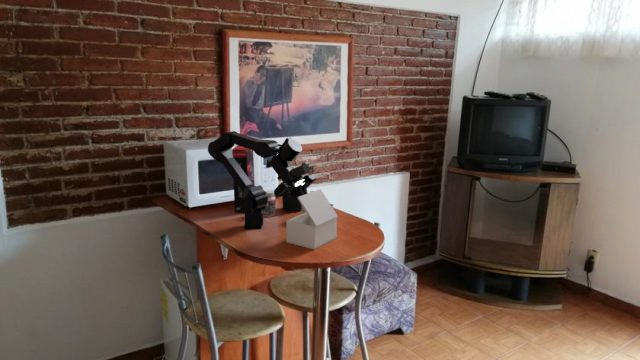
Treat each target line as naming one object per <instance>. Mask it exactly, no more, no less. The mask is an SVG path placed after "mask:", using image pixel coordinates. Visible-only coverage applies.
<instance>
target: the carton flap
mask: <svg viewBox="0 0 640 360" xmlns="http://www.w3.org/2000/svg"><path fill="white" fill-rule="evenodd" d="M312 191H313V192H311V193H310V192H307V193H308V194H305V195H302V196H299V197H298V200H299V201H300V203H301V205H302V206H303V208H304V209H305V211H306V213H307V214H308V216H309V217H310V219H311V220H312V222H313V224H314V225H315V227H316V226H318V225H321V224H323V223H325V222H327V221H329V220H331V219H333V218H336V217H337V218H338V214H337V212H336V211H335V209H334V208H333V206H332V204H331V203H330V201H329V200H328V198H327V197H326V196H325V194H324V193H323V190H322V189H321V188H320V189H316V190H312Z"/></svg>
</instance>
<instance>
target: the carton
mask: <svg viewBox="0 0 640 360" xmlns="http://www.w3.org/2000/svg"><path fill="white" fill-rule="evenodd" d="M285 223H286V225H285V227H286V229H285V230H286V233H285V234H286V236H285V237H286V240H285V241H286V243H287V244H290V245H293V246H294V245H296V246H298V247H299V246H300V247H303V248H307V249H311V250H314V251H315V250H317V249H319V248H321V247H323V246H325V245H326V244H328V243H330V242H332V241H334V240H336V239H337V237H338V236H337V235H338V231H337V230H338V216H337V217H336V218H333V219H331V220H329V221H327V222H325V223H323V224H321V225H318V226H316V227H315V225H314V224H313V222H312V220H311V219H310V217H309V216H308V214H307V213H304V214H302V213H301V214H299V215H296V216H294V217H292V218H290V219H288V220H286V222H285Z"/></svg>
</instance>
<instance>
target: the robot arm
mask: <svg viewBox="0 0 640 360" xmlns="http://www.w3.org/2000/svg"><path fill="white" fill-rule="evenodd" d="M235 145H236V146H237V145H239V146H242V147H245V148H248V149H251V150H253V153H254V154H255V155H257V156H259V157H261V158H263V159H266V158H270V159H268V160H266V165H265V168H266V169H268V168H272V169H273V170H274V172H275V173H276V174H277V180H278V181H281V182H280V183H279V184H278V185H277V186H276V187H275V189H274V190H273V191H274V197H275V198H277V199H278V198H281V197H282V196H283V192H284V191H287V190H289V194H288V196H291V197H293V198H295V199H297V200H298V197H299V196H302V195H305V194H308V193H309V192H308V188H309V187H310V186H311V184H313V183H314V182H315V181H316V180H317V177H316V176H315V174H314V173H311V171H312V165H311V164H310V163H309V162H308V161H305V162H303V163H301V165H299V166H297V167H296V166H295V165H291V164H290V163H291V162H293V161H294V160H295V159H296V157H298V155H299V154H301V152H302V151H303V147H302V145H301V143H300V142H298V141H296V140H294V139H293V138H292V137H286V138H285V139H284V141H283V142H282V143H281V144H280V143H278V142H277V140H274V139H258V138H256V137H252V136H248V135H246V134H242V133H239V132H238V131H234V130H232V131H228V132H225V133H223V135H221V136H220V137H217V138H216V139H214V140H213V141H210V142H209V143H208V146H207V153H208V154H209V156H210V157H212V159H213V160H215V161H217V162H219V163H220V164H222V165H223V167H224V168H225V170H226V171H227V173H228V174H229V176H230V177H231V179H232V180H233V179H234V181H235V182H236V184H237V185H238V186H239V188H240V189H241V191H242V192H243V200H244V203H243V204H242V205H241V207H240V210H241V212H242V214H244V227H243V229H246V230H250V229H251V230H252V229H253V230H255V229H256V230H257V229H259V230H260V229H263V228H262V227H263V226H264V216H263V214H262V210H264V209H265V207H266V204H267V202H268V197H267V195H266V193H267V192H265V191H266V190H264V188H263V186H262V185H261V184H258V185H253V184H252V182H251V181H250V180H249V178H248V177H247V175H246V174H245V173H244V171H243V170H242V169H241V167H240V166H239V164H238V163H237V162H236V160H235V159H234V158H233V153H232V149H233V148H234V146H235Z"/></svg>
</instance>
